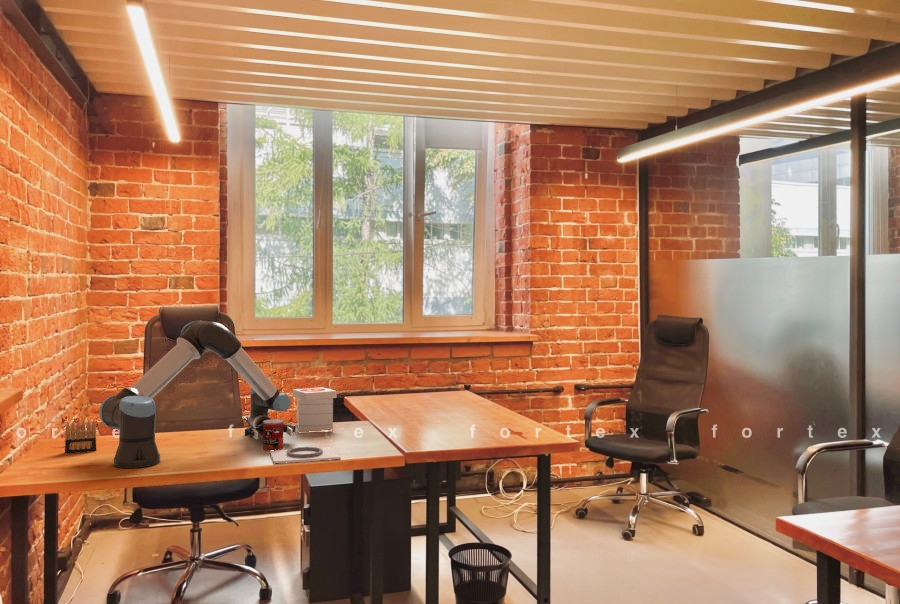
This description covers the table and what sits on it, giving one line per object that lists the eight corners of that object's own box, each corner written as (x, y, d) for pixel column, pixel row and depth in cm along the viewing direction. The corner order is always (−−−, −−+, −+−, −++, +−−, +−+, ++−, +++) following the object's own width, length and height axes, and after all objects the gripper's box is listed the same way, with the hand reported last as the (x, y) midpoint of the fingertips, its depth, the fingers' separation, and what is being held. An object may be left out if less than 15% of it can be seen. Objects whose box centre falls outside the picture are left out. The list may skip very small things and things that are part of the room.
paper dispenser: (331, 421, 334) (332, 384, 334) (337, 432, 305) (337, 392, 305) (291, 422, 329) (291, 384, 329) (293, 434, 300) (293, 393, 300)
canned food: (259, 450, 268) (259, 422, 268) (269, 445, 276) (269, 418, 276) (276, 451, 267) (277, 423, 267) (286, 447, 274) (286, 419, 274)
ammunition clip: (96, 450, 265) (96, 419, 265) (96, 451, 264) (96, 420, 264) (64, 452, 261) (65, 421, 260) (64, 453, 259) (64, 422, 259)
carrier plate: (274, 464, 246) (274, 458, 246) (270, 453, 263) (270, 447, 263) (340, 459, 254) (340, 453, 254) (332, 449, 271) (332, 443, 271)
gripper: (293, 431, 295) (305, 441, 276) (233, 436, 284) (242, 446, 265) (293, 414, 295) (305, 422, 276) (233, 418, 284) (242, 427, 265)
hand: (274, 434), depth 271 cm, fingers open, 13 cm apart
